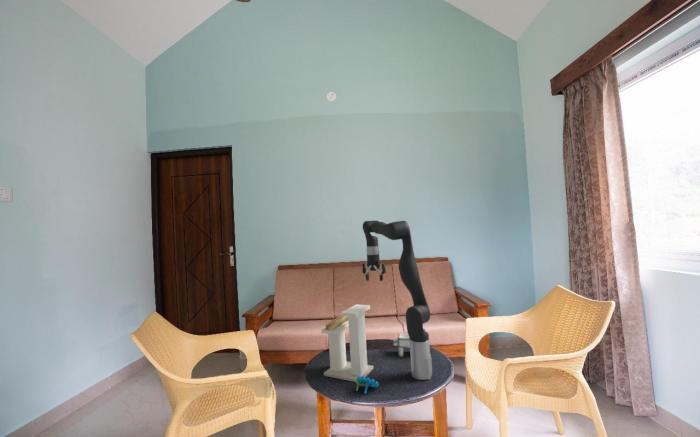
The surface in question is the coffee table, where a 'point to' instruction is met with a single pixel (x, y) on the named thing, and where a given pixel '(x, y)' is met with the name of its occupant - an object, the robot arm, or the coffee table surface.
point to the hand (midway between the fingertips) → (374, 280)
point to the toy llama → (403, 342)
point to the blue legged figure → (365, 383)
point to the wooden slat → (336, 322)
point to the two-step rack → (357, 346)
